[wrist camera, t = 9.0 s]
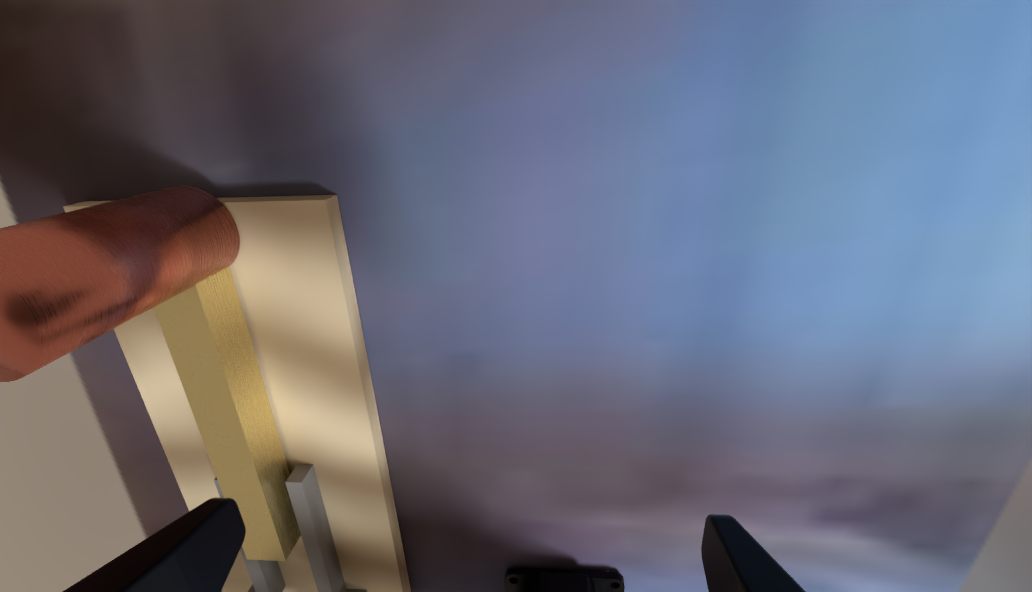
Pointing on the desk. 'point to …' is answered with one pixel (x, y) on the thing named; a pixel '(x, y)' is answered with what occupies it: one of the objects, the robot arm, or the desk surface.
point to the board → (292, 400)
